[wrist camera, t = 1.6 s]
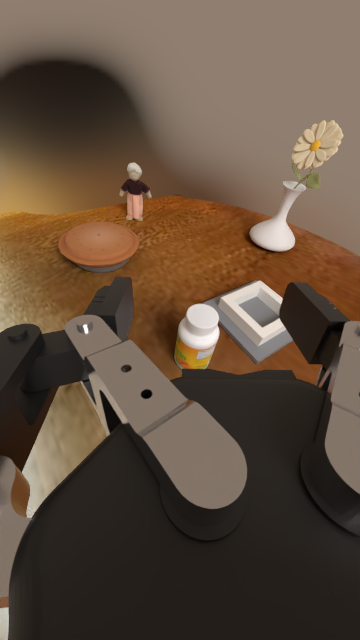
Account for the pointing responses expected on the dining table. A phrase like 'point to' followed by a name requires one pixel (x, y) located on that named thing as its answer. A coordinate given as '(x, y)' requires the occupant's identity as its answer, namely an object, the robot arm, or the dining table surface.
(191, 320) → the supplement bottle
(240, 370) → the dining table surface
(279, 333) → the socket plate
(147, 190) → the grandmother figurine
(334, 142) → the flower in vase
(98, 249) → the pie
